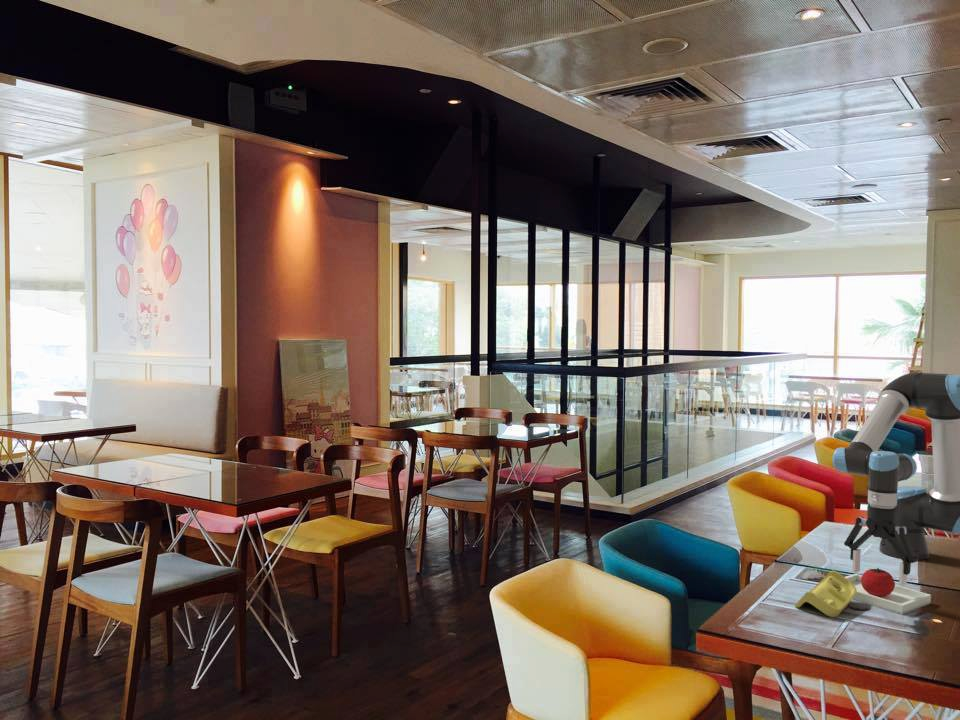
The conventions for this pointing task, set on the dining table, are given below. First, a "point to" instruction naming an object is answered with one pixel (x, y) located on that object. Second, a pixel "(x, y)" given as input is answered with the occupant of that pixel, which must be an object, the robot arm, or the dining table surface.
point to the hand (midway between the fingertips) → (878, 578)
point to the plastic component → (830, 594)
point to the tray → (891, 597)
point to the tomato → (877, 582)
